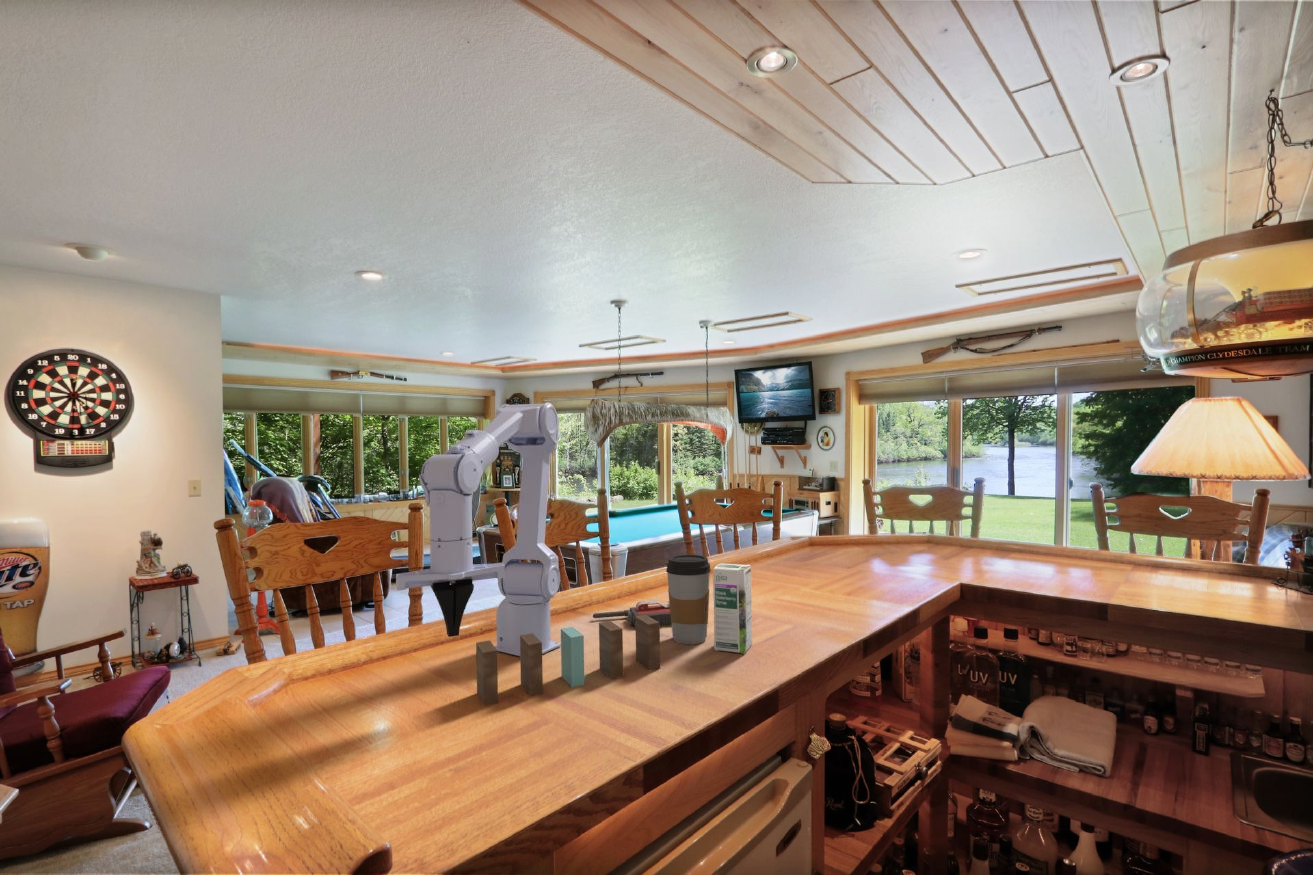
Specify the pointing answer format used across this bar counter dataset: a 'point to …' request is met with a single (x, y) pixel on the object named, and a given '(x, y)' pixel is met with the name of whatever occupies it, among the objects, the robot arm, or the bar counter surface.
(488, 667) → the domino
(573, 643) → the domino
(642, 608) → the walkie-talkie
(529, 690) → the domino
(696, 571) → the coffee cup
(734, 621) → the syrup box
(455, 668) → the bar counter surface
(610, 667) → the domino
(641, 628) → the domino
